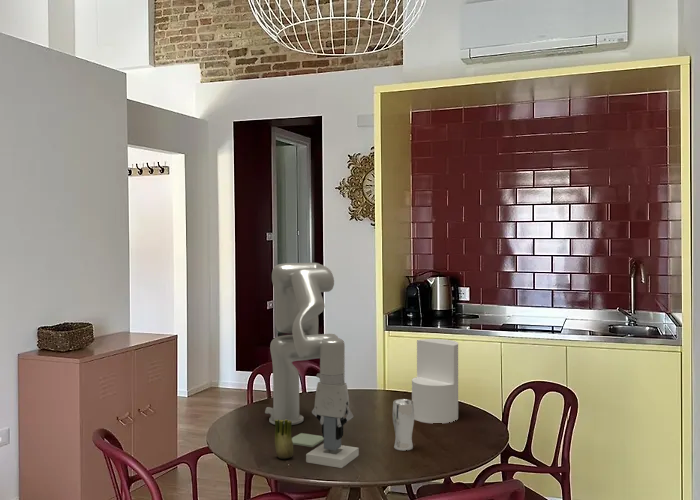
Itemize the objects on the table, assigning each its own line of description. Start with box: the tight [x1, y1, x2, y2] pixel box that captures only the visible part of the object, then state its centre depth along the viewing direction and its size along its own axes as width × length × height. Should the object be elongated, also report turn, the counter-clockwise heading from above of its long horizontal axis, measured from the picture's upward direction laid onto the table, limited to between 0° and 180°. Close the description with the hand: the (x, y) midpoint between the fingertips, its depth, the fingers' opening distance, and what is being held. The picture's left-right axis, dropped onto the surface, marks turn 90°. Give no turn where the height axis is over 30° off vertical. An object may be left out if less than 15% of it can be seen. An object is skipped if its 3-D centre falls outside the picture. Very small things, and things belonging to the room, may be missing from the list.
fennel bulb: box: [274, 419, 294, 460], centre depth 208 cm, size 6×5×12 cm
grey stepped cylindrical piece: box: [411, 338, 459, 424], centre depth 252 cm, size 17×17×28 cm
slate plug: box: [323, 416, 342, 450], centre depth 207 cm, size 4×4×10 cm
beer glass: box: [392, 398, 415, 452], centre depth 217 cm, size 7×7×15 cm
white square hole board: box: [305, 442, 360, 469], centre depth 207 cm, size 12×12×2 cm
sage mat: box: [292, 432, 324, 448], centre depth 224 cm, size 10×10×1 cm
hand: (332, 436), depth 207 cm, fingers closed on slate plug, 4 cm apart
